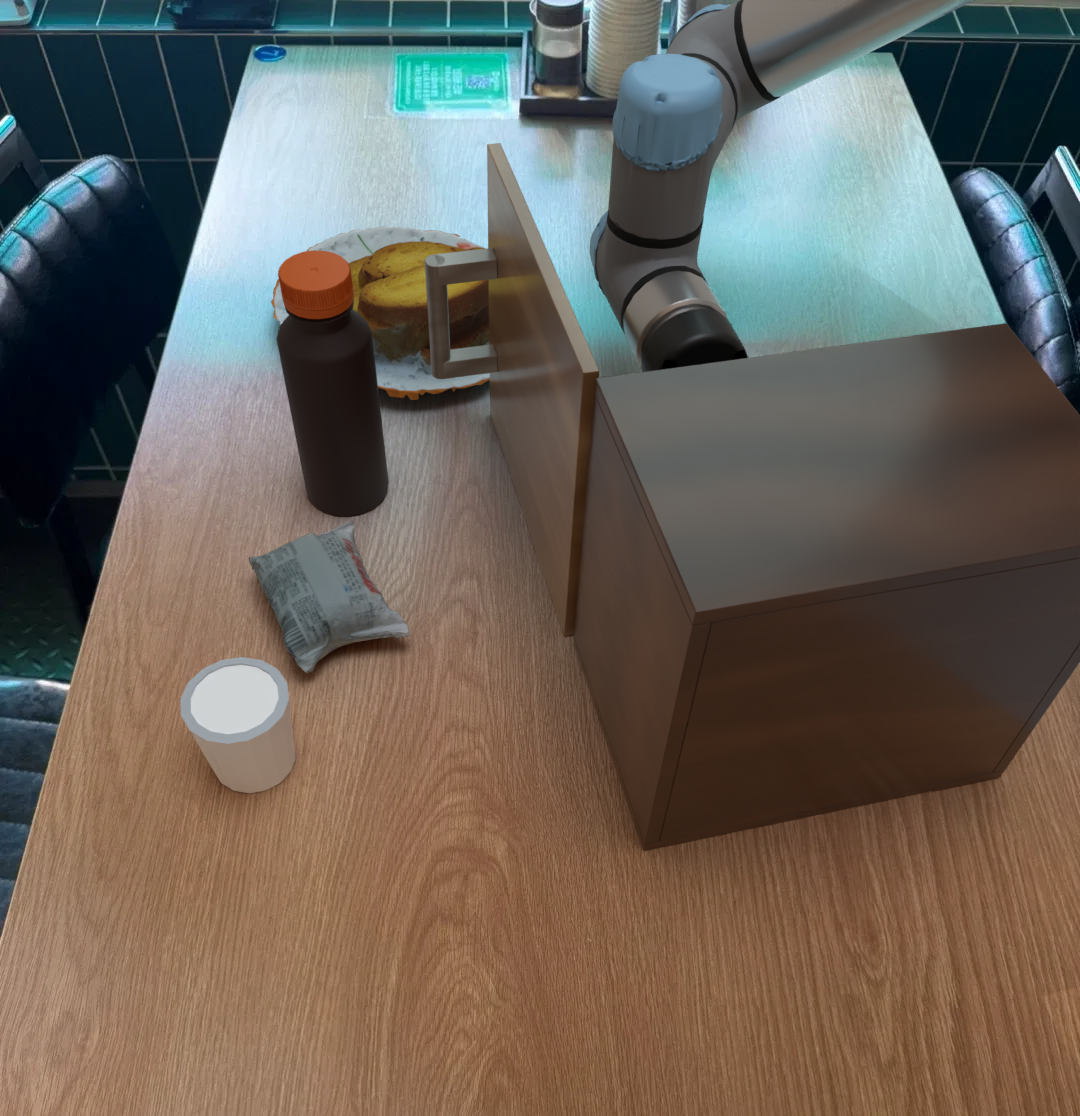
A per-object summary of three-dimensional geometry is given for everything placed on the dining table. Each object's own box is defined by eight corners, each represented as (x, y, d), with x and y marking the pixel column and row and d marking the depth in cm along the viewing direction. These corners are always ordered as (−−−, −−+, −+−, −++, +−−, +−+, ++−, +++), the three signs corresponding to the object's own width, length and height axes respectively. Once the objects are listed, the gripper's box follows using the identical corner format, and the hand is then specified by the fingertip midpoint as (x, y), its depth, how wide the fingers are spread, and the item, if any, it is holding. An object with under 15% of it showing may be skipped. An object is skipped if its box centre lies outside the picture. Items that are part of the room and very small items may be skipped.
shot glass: (217, 814, 73) (193, 756, 67) (193, 736, 77) (168, 674, 71) (317, 781, 75) (302, 721, 69) (289, 705, 78) (272, 643, 73)
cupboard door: (495, 648, 82) (492, 385, 62) (430, 422, 96) (412, 151, 77) (576, 634, 83) (599, 370, 63) (500, 412, 97) (500, 142, 78)
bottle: (404, 478, 92) (383, 259, 76) (360, 529, 88) (328, 311, 72) (336, 452, 94) (301, 231, 77) (290, 500, 90) (243, 280, 74)
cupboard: (572, 644, 82) (595, 377, 63) (892, 588, 86) (1006, 322, 67) (642, 852, 72) (695, 612, 53) (1000, 777, 76) (1172, 529, 57)
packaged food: (357, 545, 87) (349, 499, 83) (413, 651, 81) (407, 607, 77) (251, 579, 85) (237, 534, 81) (300, 690, 79) (288, 648, 75)
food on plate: (363, 225, 114) (356, 162, 108) (584, 290, 108) (589, 227, 103) (224, 363, 100) (208, 299, 95) (469, 445, 95) (468, 382, 89)
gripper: (824, 367, 90) (940, 552, 78) (527, 409, 86) (602, 611, 74) (847, 284, 84) (977, 472, 72) (529, 325, 79) (611, 531, 68)
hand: (787, 543), depth 73 cm, fingers open, 13 cm apart
